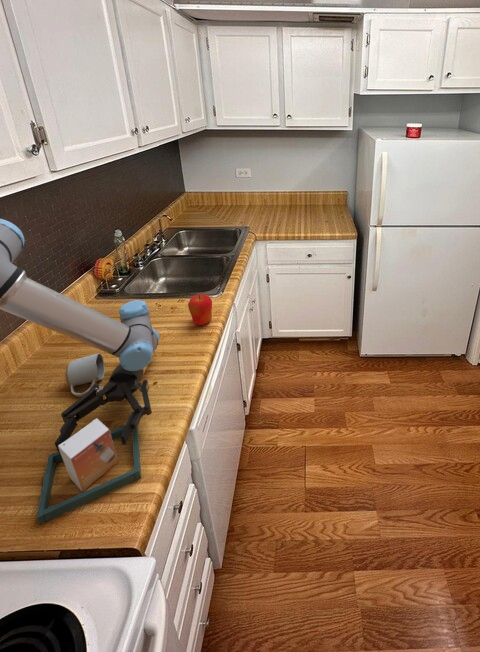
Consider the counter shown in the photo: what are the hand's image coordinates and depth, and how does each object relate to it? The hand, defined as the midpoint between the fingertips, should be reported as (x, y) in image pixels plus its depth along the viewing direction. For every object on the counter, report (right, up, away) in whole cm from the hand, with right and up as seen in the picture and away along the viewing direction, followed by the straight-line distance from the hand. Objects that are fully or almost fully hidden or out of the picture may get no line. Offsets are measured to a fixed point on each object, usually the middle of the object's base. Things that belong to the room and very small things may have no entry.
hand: (90, 444), depth 74 cm
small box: (0, -7, +2) cm, 7 cm away
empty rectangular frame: (0, -7, +2) cm, 7 cm away
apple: (+7, +13, +52) cm, 54 cm away
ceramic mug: (-17, +2, +24) cm, 30 cm away
